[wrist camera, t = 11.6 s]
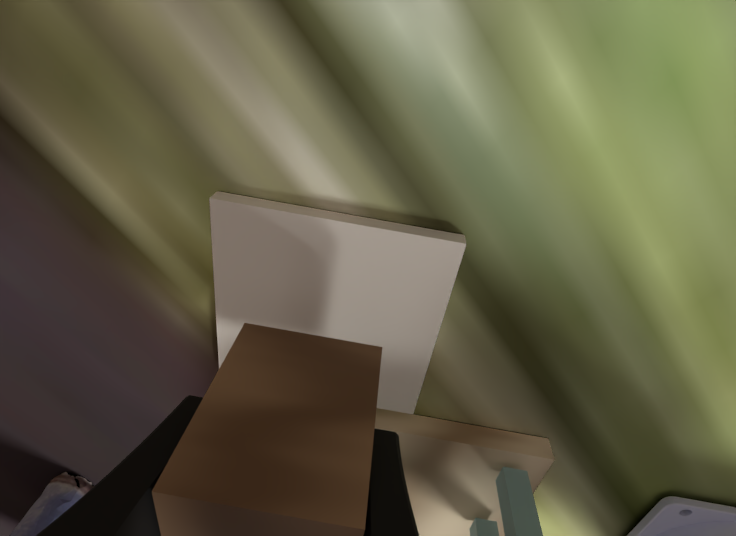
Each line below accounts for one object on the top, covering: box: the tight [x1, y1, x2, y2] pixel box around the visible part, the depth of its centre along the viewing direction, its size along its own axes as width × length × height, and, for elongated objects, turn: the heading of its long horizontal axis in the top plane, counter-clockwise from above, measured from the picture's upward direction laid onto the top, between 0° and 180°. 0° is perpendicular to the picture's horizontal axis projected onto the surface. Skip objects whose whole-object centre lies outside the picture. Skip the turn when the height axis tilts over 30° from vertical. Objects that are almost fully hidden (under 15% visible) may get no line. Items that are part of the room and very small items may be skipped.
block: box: [152, 323, 382, 536], centre depth 11 cm, size 4×4×5 cm
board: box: [375, 408, 555, 536], centre depth 22 cm, size 10×16×1 cm, turn 172°
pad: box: [209, 191, 466, 414], centre depth 15 cm, size 8×8×1 cm
